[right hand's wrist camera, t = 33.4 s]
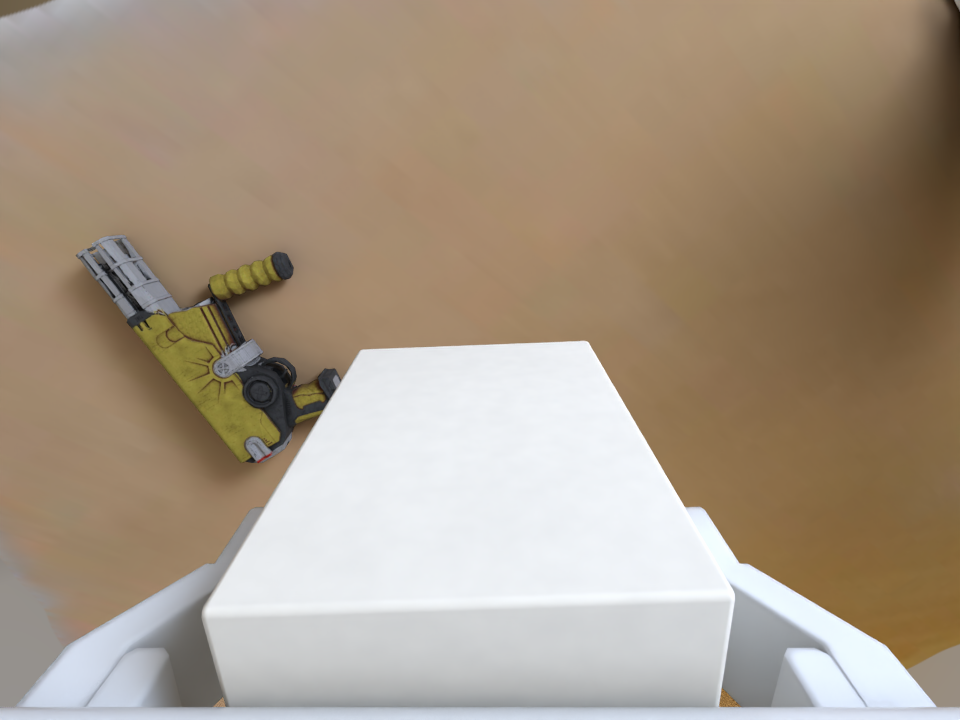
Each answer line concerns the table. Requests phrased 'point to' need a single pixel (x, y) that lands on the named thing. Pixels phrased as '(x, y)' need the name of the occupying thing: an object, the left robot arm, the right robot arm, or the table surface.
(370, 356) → the brick
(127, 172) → the table surface
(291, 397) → the toy gun
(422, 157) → the table surface
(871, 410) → the table surface
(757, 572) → the right robot arm
